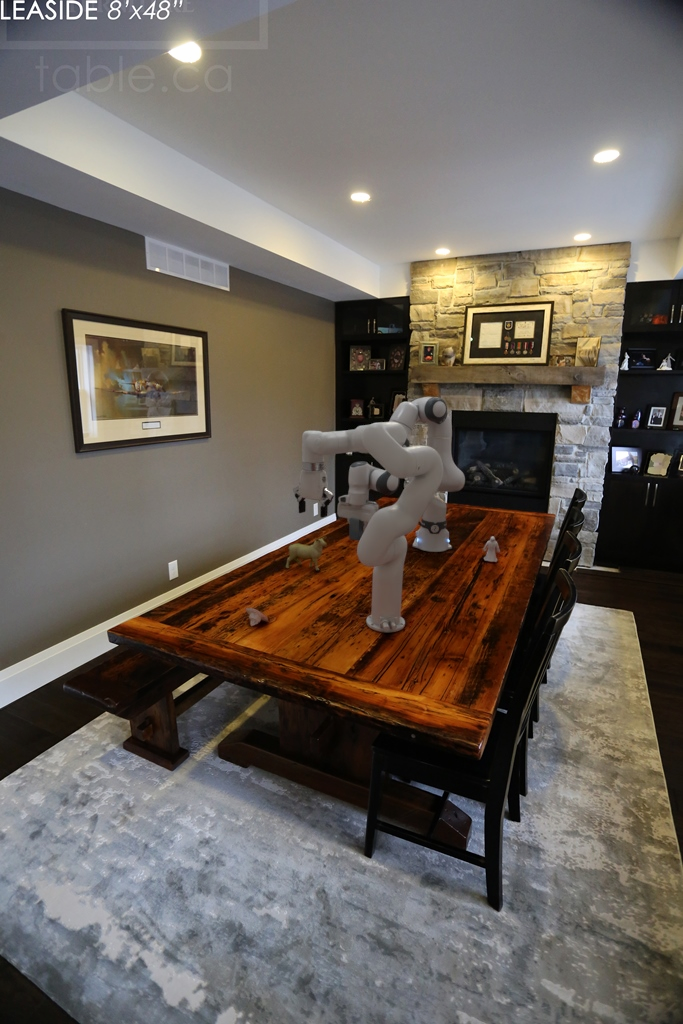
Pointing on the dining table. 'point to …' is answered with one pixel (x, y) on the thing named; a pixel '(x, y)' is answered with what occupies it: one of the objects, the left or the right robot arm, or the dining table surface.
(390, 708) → the dining table surface
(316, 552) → the toy
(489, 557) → the figurine
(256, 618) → the seashell
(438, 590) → the dining table surface
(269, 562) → the dining table surface
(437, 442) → the right robot arm
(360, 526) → the brick
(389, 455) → the left robot arm
